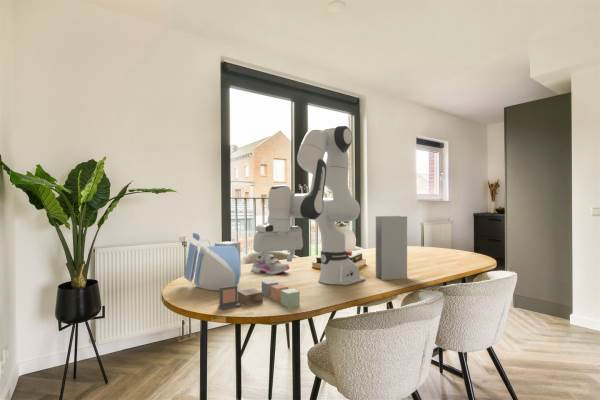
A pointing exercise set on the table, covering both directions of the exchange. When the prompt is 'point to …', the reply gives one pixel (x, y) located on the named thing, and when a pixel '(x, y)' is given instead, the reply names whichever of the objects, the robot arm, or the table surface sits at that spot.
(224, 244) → the supplement box
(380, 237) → the tall grey pillar
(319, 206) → the robot arm
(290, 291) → the sage cube
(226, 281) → the retro all-in-one computer
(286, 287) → the terracotta cube
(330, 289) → the table surface
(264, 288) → the slate cube
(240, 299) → the brown curved block
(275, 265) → the running shoe
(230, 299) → the tile
